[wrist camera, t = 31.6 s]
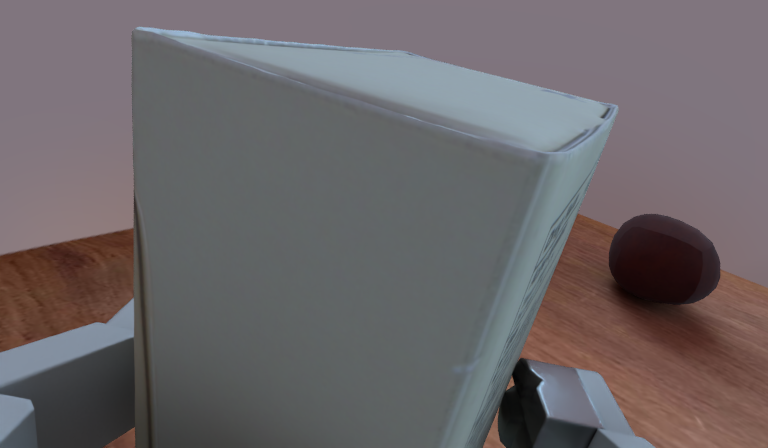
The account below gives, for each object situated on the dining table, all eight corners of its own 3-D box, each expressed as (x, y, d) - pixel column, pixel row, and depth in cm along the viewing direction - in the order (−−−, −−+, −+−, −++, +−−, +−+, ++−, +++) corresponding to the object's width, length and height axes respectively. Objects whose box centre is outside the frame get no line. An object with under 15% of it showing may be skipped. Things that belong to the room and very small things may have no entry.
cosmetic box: (316, 466, 14) (401, 49, 10) (448, 556, 13) (626, 102, 8) (120, 689, 9) (103, 6, 4) (303, 895, 7) (580, 136, 3)
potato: (708, 303, 37) (748, 234, 34) (684, 337, 31) (731, 257, 28) (614, 260, 41) (644, 196, 39) (578, 282, 35) (611, 208, 33)
